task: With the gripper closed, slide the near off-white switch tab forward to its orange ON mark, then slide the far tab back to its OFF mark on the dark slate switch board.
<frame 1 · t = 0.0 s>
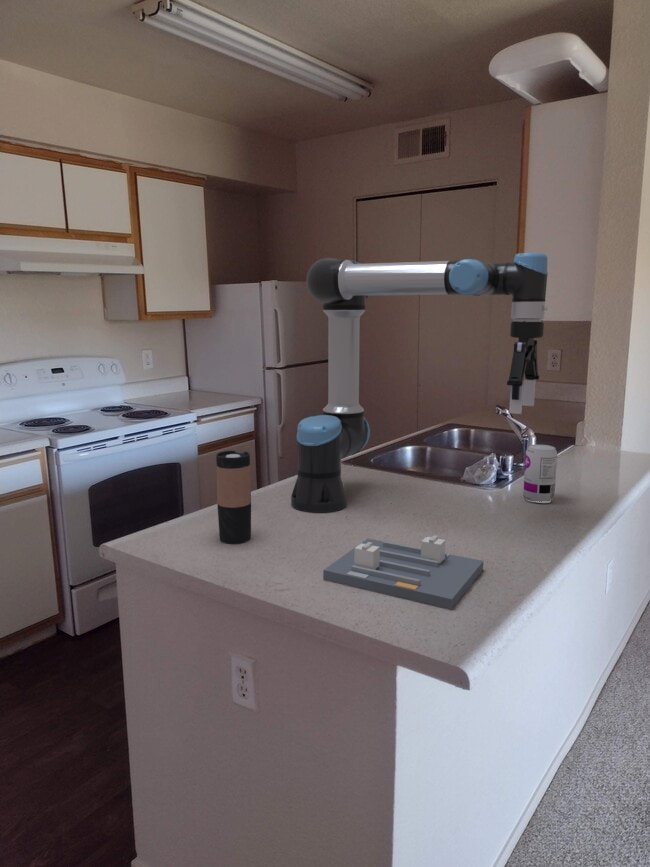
hand: (521, 409, 157), 28 cm above the countertop, fingers open, 13 cm apart
switch board: (404, 574, 129), on the countertop
travel mug: (235, 539, 149), on the countertop
supplement can: (538, 500, 179), on the countertop
tab b: (433, 548, 130), point 5 cm above the countertop, slide at 10.0 cm
tab a: (367, 555, 127), point 5 cm above the countertop, slide at 0.0 cm
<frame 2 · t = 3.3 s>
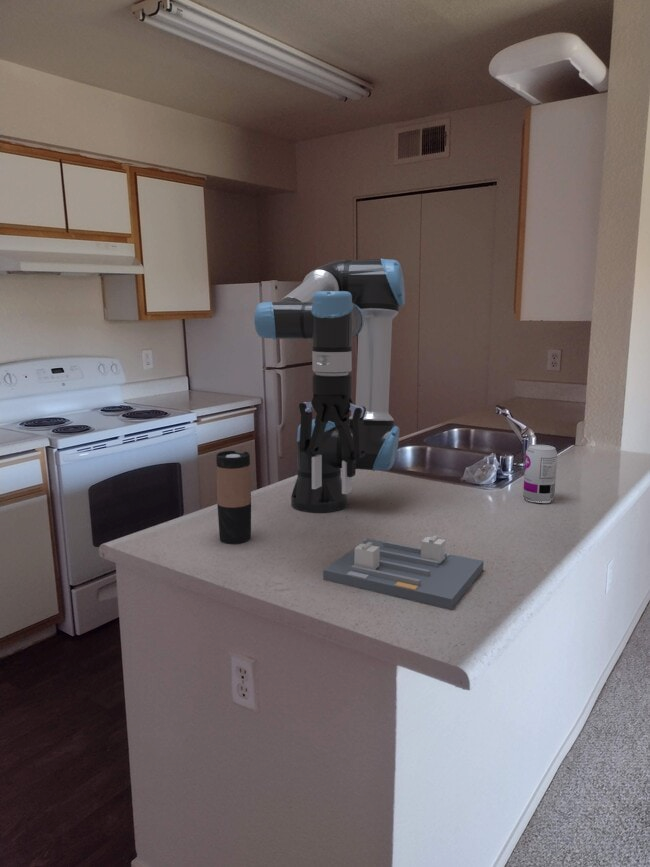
hand: (331, 489, 128), 17 cm above the countertop, fingers open, 6 cm apart
nothing on the countertop moved.
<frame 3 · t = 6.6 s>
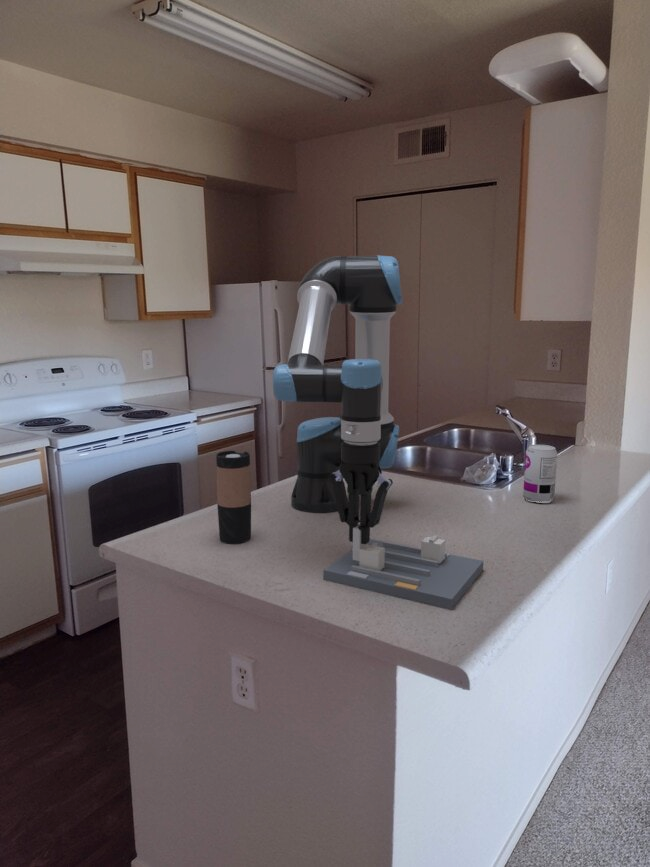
hand: (359, 558, 127), 4 cm above the countertop, fingers closed
tab a: (372, 556, 126), point 5 cm above the countertop, slide at 1.1 cm, touching gripper
everything else where it was.
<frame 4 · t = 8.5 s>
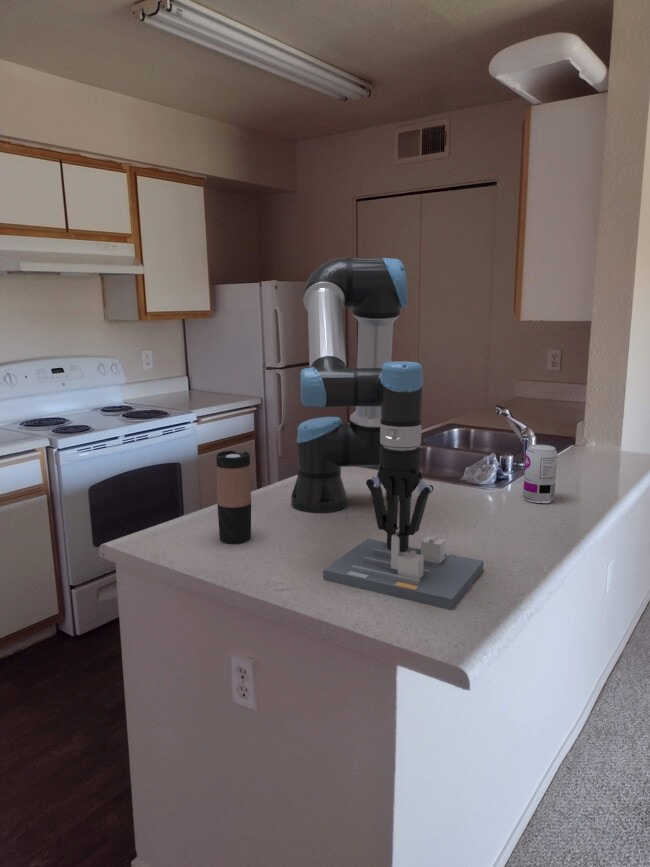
hand: (397, 566, 124), 4 cm above the countertop, fingers closed
tab a: (410, 564, 122), point 5 cm above the countertop, slide at 9.2 cm, touching gripper
everything else where it was.
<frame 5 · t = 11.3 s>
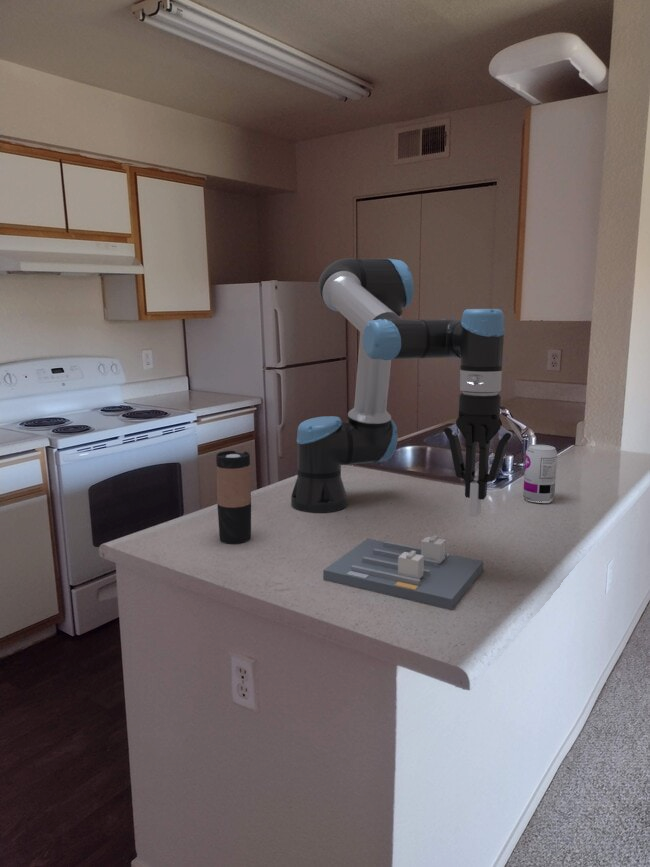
hand: (474, 514, 125), 13 cm above the countertop, fingers closed
tab a: (410, 564, 122), point 5 cm above the countertop, slide at 9.2 cm
everything else where it was.
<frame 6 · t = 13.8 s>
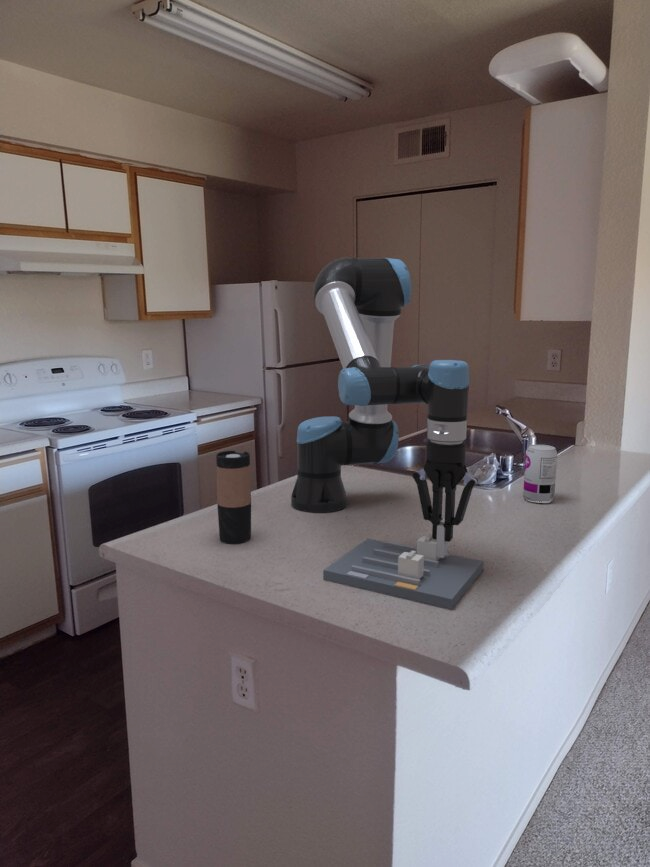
hand: (441, 555, 130), 4 cm above the countertop, fingers closed
tab b: (428, 547, 131), point 5 cm above the countertop, slide at 9.0 cm, touching gripper
everything else where it was.
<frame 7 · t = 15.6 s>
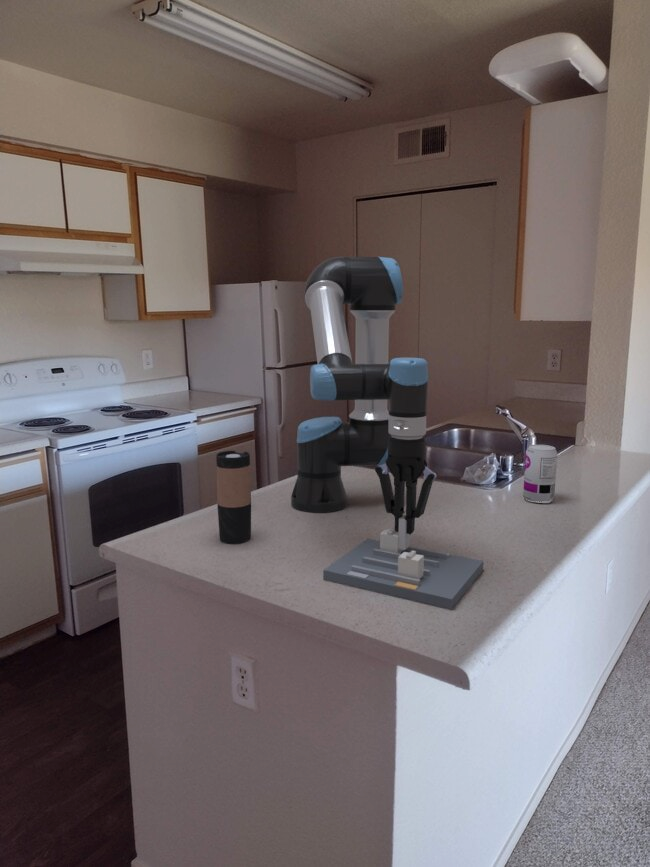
hand: (404, 547, 134), 4 cm above the countertop, fingers closed
tab b: (391, 540, 135), point 5 cm above the countertop, slide at 0.9 cm, touching gripper
everything else where it was.
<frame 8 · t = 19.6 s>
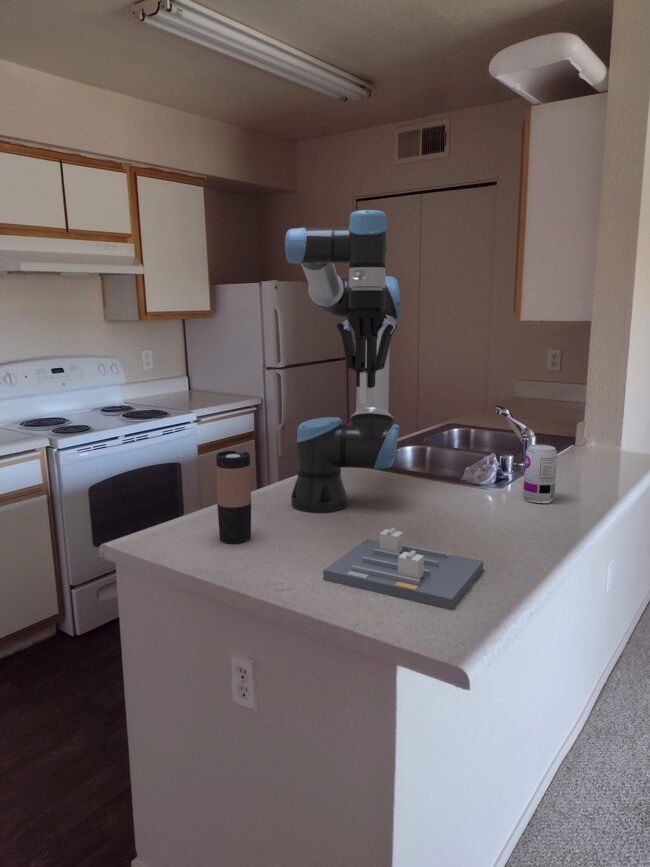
hand: (365, 402, 138), 32 cm above the countertop, fingers closed
tab b: (391, 540, 135), point 5 cm above the countertop, slide at 0.8 cm
everything else where it was.
at the end: tab a slide at 9.2 cm; tab b slide at 0.8 cm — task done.
